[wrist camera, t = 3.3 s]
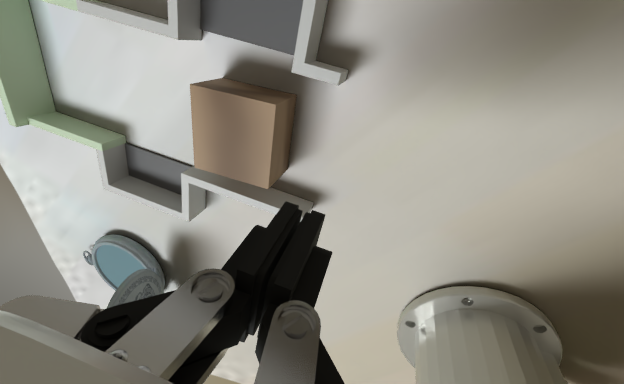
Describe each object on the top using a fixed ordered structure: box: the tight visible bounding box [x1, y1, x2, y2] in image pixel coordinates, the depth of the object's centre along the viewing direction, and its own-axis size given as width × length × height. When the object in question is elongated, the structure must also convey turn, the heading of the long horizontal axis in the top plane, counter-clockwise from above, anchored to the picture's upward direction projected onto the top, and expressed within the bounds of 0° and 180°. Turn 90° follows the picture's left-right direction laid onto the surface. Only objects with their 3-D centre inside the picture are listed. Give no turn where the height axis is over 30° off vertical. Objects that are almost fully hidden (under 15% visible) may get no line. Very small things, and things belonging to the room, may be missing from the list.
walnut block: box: [190, 78, 297, 189], centre depth 21 cm, size 6×6×4 cm
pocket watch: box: [83, 235, 165, 308], centre depth 32 cm, size 10×11×15 cm
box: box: [0, 0, 348, 222], centre depth 22 cm, size 28×20×4 cm
